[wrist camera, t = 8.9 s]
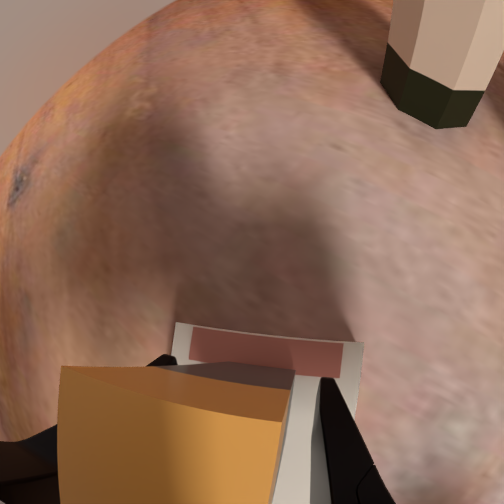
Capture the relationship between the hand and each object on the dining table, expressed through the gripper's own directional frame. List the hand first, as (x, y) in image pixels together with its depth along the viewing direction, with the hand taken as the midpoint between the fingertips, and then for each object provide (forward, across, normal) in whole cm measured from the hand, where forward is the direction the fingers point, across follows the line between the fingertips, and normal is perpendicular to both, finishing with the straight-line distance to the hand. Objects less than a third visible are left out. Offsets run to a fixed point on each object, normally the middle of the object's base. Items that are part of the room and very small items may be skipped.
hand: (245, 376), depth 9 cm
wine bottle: (+20, -11, -10) cm, 24 cm away
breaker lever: (+2, 0, +4) cm, 4 cm away
